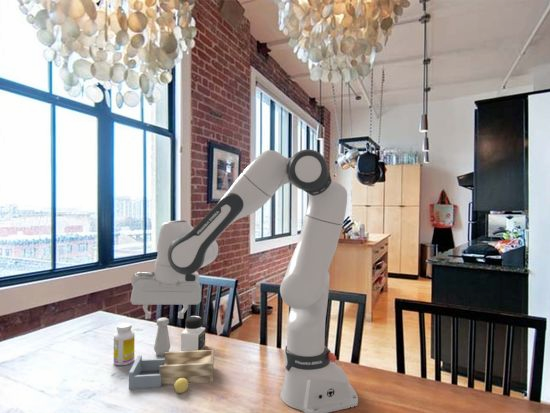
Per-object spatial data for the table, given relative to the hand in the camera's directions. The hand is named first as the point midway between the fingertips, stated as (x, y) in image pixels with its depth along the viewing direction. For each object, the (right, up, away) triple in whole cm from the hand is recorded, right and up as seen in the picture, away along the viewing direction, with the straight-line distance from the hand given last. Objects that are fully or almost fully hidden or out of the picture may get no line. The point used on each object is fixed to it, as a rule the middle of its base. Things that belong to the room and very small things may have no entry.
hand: (164, 318), depth 101 cm
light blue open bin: (-7, -21, +5) cm, 23 cm away
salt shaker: (-8, -21, +23) cm, 32 cm away
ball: (+6, -19, -2) cm, 20 cm away
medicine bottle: (+2, -21, +27) cm, 35 cm away
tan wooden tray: (+5, -21, +7) cm, 23 cm away
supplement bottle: (-19, -21, +16) cm, 33 cm away
